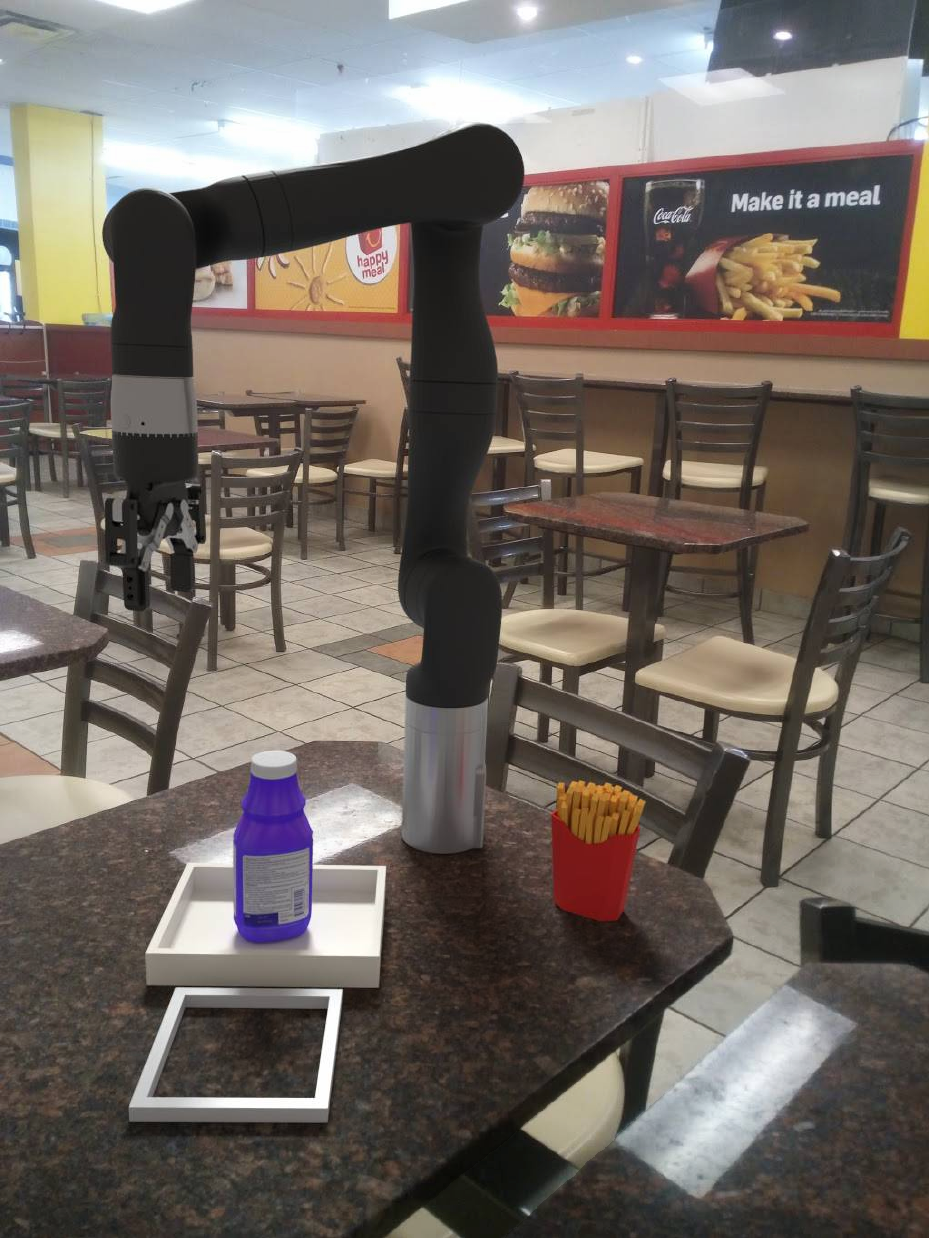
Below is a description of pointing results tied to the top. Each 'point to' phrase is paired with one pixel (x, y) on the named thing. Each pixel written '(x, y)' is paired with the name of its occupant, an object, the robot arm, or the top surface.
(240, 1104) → the frame
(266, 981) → the tray
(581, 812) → the french fries
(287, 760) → the bottle
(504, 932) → the top surface
